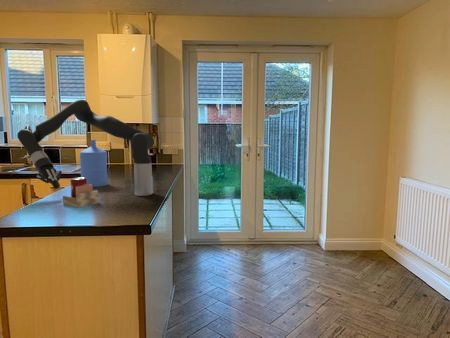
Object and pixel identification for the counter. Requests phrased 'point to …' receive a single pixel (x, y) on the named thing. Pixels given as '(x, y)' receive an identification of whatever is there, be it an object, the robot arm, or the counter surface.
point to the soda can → (77, 184)
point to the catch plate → (84, 189)
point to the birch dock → (82, 199)
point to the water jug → (94, 165)
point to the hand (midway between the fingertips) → (57, 187)
